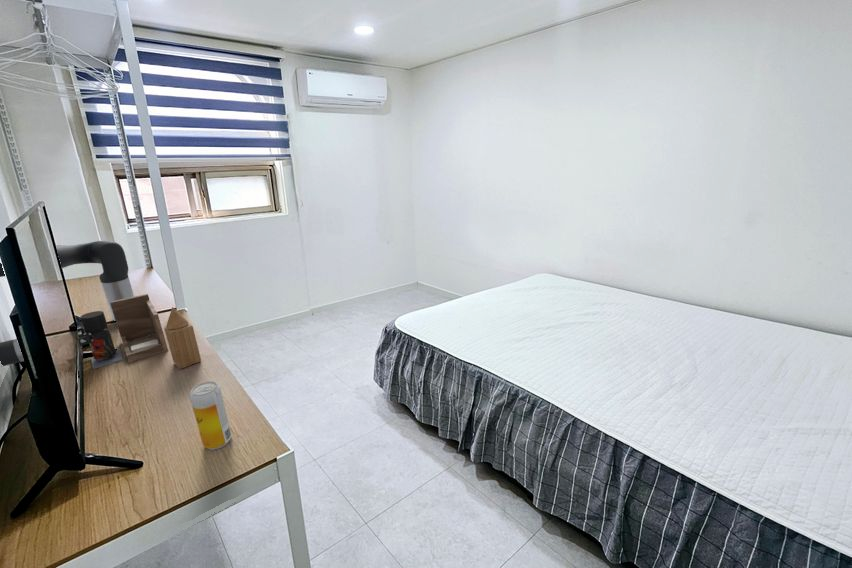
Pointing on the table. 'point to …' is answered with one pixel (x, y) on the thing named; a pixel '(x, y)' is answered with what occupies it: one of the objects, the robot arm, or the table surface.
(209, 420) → the beer can
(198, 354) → the decorative item
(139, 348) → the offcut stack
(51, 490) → the table surface
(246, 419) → the table surface
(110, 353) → the deodorant
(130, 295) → the robot arm
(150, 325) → the box
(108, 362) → the mat
